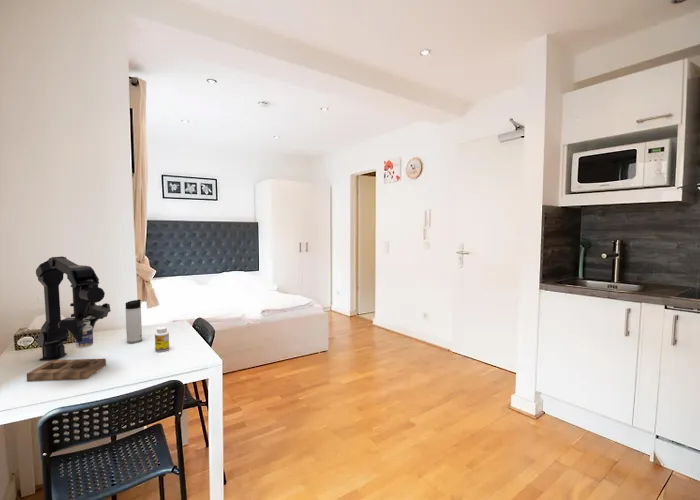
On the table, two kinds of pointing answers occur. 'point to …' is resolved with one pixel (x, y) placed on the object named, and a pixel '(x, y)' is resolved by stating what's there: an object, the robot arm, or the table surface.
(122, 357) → the table surface
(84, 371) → the socket block
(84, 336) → the pill bottle
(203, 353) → the table surface
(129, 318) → the travel mug
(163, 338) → the supplement bottle
